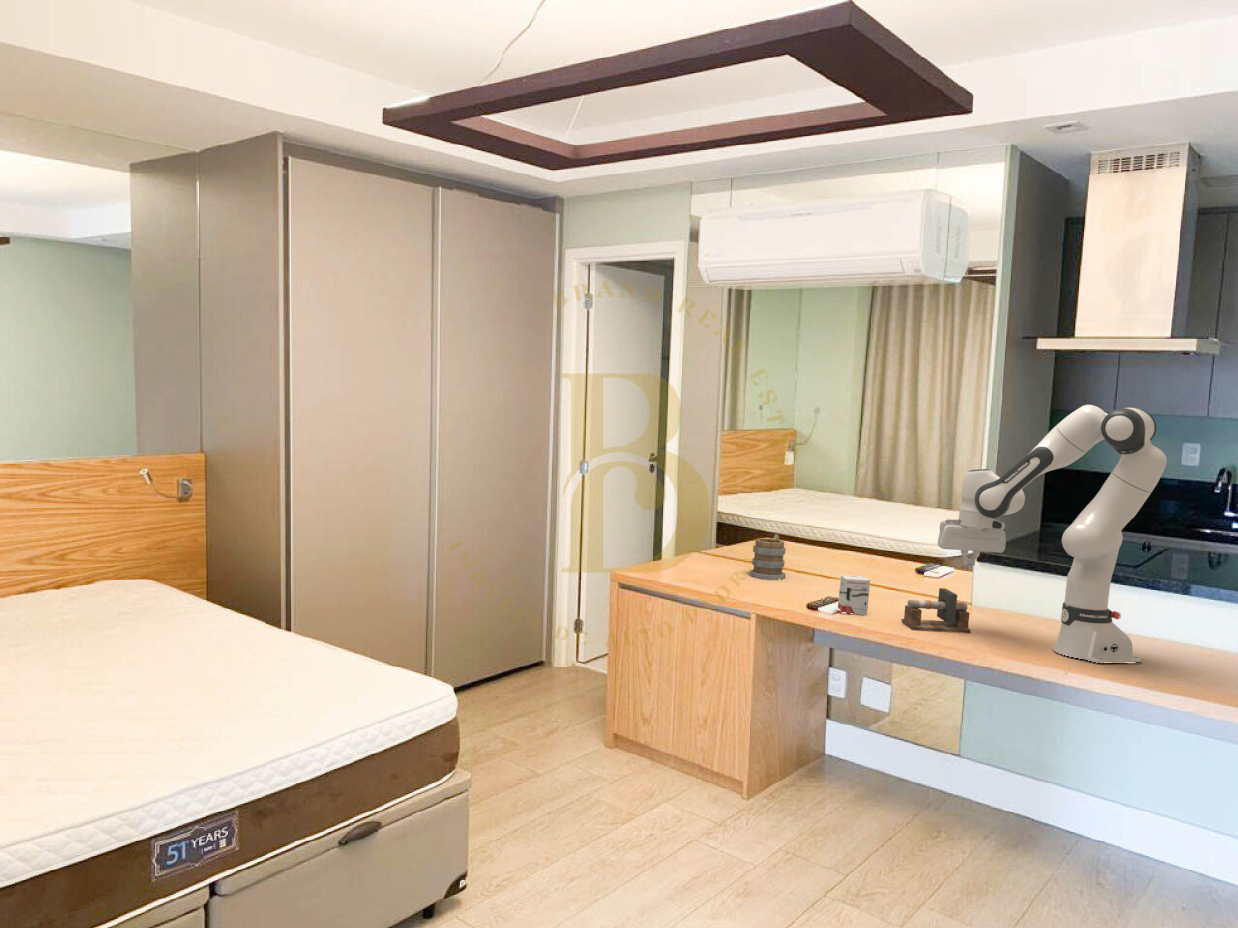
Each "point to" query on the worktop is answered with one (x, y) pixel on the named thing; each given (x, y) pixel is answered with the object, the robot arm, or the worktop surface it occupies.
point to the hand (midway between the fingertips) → (969, 564)
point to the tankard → (768, 559)
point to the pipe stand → (915, 623)
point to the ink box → (854, 594)
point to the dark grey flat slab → (947, 605)
